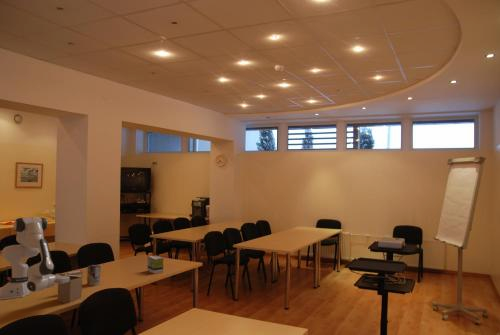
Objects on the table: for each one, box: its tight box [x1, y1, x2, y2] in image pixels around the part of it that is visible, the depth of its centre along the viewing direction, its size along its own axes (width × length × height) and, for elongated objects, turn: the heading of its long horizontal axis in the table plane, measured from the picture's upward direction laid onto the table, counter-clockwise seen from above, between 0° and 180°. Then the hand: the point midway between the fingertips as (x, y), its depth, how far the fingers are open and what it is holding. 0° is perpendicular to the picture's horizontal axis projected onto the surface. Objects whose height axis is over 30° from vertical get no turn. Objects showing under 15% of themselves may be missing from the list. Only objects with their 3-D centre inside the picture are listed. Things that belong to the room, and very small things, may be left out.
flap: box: [56, 273, 83, 278], centre depth 291 cm, size 16×11×1 cm
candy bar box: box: [66, 270, 83, 292], centre depth 310 cm, size 11×5×16 cm, turn 141°
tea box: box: [146, 255, 164, 275], centre depth 382 cm, size 15×10×15 cm
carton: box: [57, 276, 83, 304], centre depth 292 cm, size 12×11×16 cm
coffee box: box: [86, 264, 101, 287], centre depth 334 cm, size 9×6×16 cm
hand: (63, 276), depth 286 cm, fingers closed, pressing on flap
